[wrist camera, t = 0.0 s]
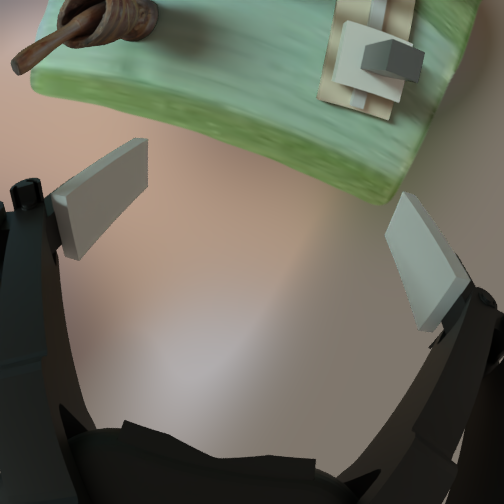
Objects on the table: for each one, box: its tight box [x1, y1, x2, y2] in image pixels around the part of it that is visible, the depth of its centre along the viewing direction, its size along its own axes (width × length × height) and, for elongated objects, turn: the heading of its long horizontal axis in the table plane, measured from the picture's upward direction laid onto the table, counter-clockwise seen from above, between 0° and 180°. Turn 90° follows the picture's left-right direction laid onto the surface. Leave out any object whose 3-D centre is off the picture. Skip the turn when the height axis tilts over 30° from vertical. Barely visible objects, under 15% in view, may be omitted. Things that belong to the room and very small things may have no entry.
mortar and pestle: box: [11, 0, 158, 75], centre depth 23 cm, size 12×9×20 cm
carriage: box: [331, 20, 425, 103], centre depth 23 cm, size 8×8×14 cm
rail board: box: [316, 0, 415, 121], centre depth 26 cm, size 24×10×4 cm, turn 171°
